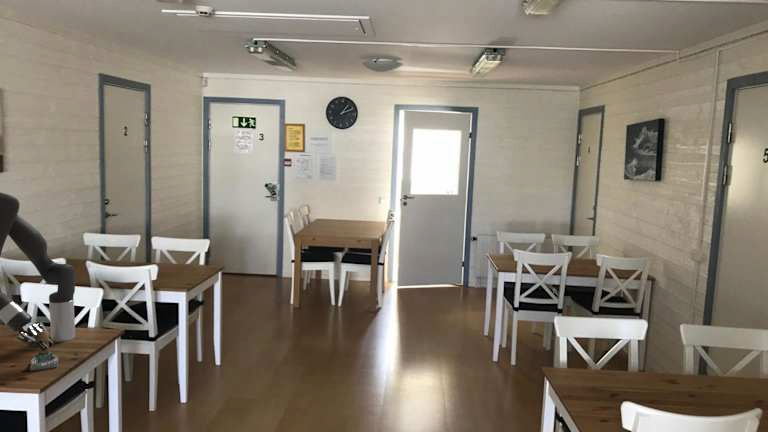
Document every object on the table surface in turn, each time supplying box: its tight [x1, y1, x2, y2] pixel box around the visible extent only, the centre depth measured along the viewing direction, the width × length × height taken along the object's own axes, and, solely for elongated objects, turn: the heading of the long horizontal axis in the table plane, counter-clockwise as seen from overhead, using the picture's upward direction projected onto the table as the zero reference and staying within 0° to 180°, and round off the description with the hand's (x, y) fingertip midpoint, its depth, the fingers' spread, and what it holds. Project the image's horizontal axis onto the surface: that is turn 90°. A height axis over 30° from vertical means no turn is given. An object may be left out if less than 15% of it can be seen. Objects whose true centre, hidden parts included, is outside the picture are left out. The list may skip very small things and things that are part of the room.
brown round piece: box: [34, 330, 53, 360], centre depth 218 cm, size 6×6×10 cm
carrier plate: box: [29, 354, 59, 372], centre depth 219 cm, size 9×9×2 cm
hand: (48, 347), depth 219 cm, fingers closed on brown round piece, 3 cm apart
